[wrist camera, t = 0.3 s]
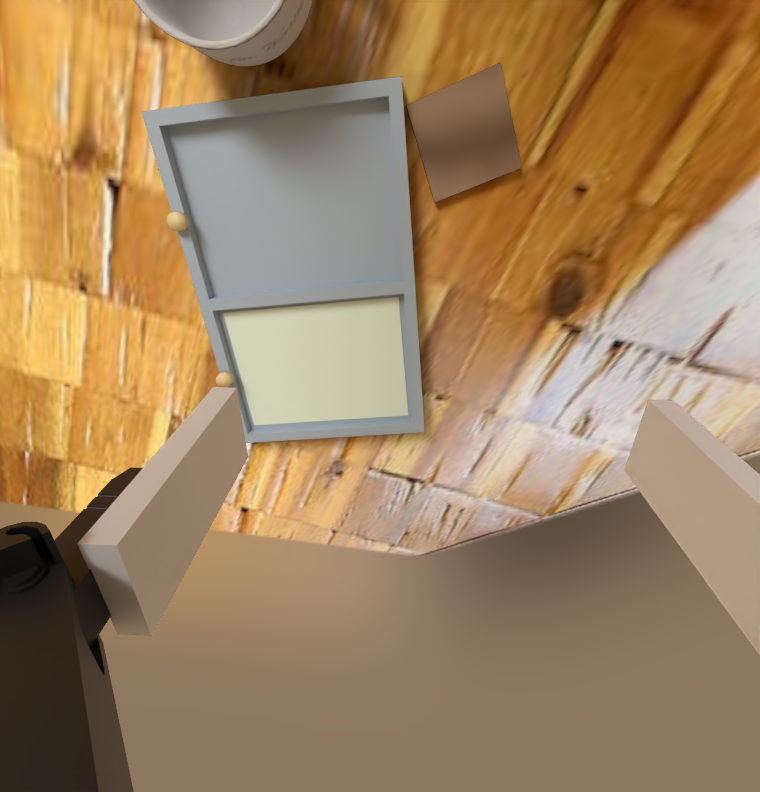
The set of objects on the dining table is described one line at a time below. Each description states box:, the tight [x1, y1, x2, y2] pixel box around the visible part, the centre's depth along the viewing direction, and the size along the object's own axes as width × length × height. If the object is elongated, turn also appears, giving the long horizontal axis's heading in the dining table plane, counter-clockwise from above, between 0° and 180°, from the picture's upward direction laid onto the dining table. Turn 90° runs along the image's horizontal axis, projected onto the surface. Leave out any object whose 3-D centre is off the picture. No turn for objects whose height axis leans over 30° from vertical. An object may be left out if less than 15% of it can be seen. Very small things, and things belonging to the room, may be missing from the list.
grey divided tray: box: [142, 76, 425, 443], centre depth 38 cm, size 29×19×3 cm, turn 6°
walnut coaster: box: [406, 63, 522, 202], centre depth 33 cm, size 7×7×1 cm
